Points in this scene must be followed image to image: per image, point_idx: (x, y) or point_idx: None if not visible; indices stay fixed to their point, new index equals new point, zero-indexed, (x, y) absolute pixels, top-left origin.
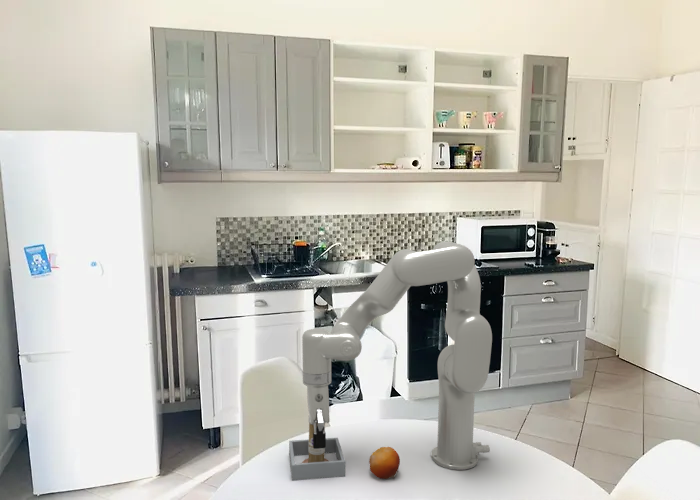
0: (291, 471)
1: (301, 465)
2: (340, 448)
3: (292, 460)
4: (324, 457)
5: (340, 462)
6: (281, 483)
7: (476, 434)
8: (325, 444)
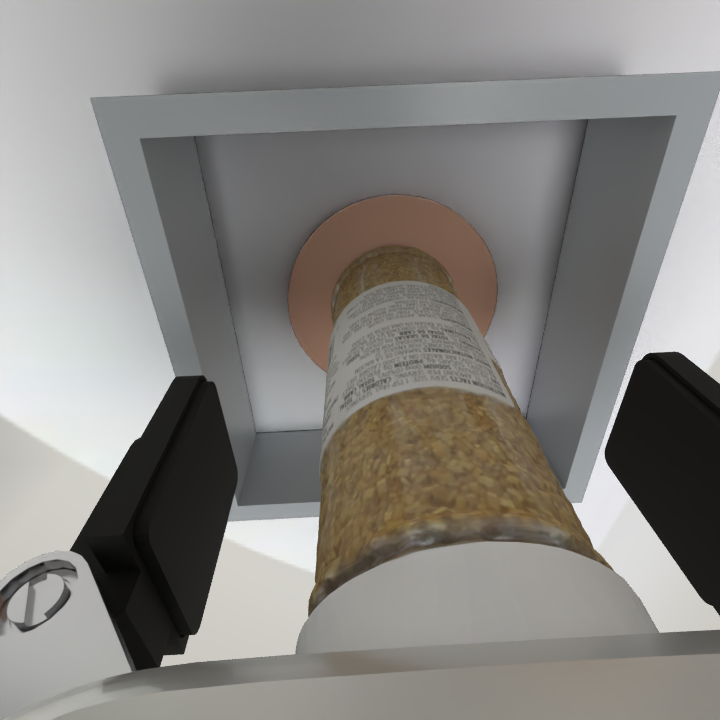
0: None
1: (593, 451)
2: (393, 95)
3: None
4: (415, 264)
5: (699, 135)
6: None
7: None
8: (698, 371)
